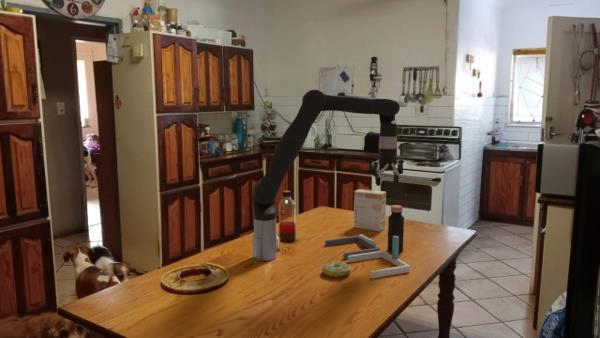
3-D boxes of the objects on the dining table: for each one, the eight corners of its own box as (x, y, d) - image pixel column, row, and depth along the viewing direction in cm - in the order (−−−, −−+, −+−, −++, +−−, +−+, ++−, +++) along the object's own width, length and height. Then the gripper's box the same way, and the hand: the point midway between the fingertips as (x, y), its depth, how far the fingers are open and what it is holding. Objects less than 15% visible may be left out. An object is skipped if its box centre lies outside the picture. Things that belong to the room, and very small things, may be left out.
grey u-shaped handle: (344, 259, 193) (344, 248, 192) (325, 245, 210) (325, 236, 209) (380, 253, 199) (380, 243, 198) (358, 240, 216) (359, 231, 216)
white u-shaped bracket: (371, 278, 172) (372, 249, 171) (347, 261, 190) (348, 234, 188) (411, 271, 179) (412, 243, 177) (384, 255, 196) (385, 229, 195)
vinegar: (386, 251, 202) (387, 207, 198) (389, 246, 208) (390, 203, 205) (401, 253, 199) (403, 208, 196) (404, 248, 205) (405, 205, 202)
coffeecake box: (385, 228, 236) (386, 191, 233) (380, 232, 230) (381, 194, 227) (359, 224, 244) (359, 188, 241) (353, 227, 238) (353, 190, 235)
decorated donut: (355, 273, 178) (356, 264, 177) (338, 281, 170) (338, 272, 169) (334, 266, 185) (334, 257, 184) (317, 274, 177) (317, 264, 176)
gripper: (397, 145, 199) (396, 182, 202) (368, 146, 194) (367, 184, 196) (407, 147, 192) (406, 185, 195) (378, 148, 187) (377, 187, 189)
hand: (386, 184), depth 196 cm, fingers open, 8 cm apart
